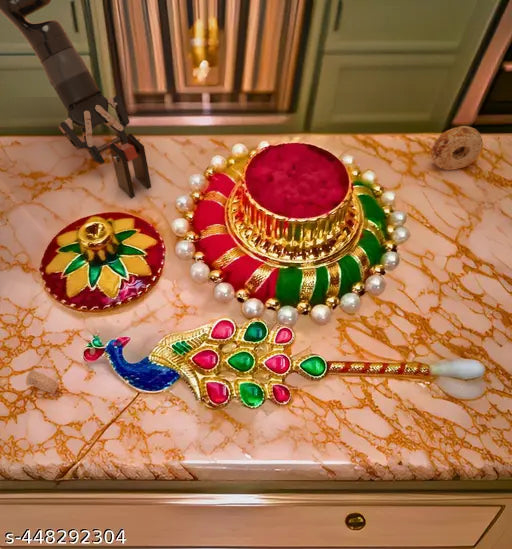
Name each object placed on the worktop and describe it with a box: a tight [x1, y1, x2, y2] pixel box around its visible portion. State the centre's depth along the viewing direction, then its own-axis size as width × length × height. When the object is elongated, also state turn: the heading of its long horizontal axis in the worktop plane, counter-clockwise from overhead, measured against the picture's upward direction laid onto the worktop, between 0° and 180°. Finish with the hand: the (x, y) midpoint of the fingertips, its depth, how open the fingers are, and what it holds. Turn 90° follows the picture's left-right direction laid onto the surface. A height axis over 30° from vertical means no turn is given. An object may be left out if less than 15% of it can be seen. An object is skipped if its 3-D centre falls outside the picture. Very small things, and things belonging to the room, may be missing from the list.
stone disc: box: [430, 125, 484, 171], centre depth 122 cm, size 10×4×10 cm, turn 98°
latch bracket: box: [109, 133, 152, 200], centre depth 114 cm, size 11×8×13 cm
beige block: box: [25, 369, 60, 394], centre depth 93 cm, size 3×5×5 cm, turn 70°
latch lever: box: [97, 136, 138, 163], centre depth 113 cm, size 11×6×2 cm, turn 41°
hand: (115, 156), depth 117 cm, fingers closed on latch lever, 5 cm apart
